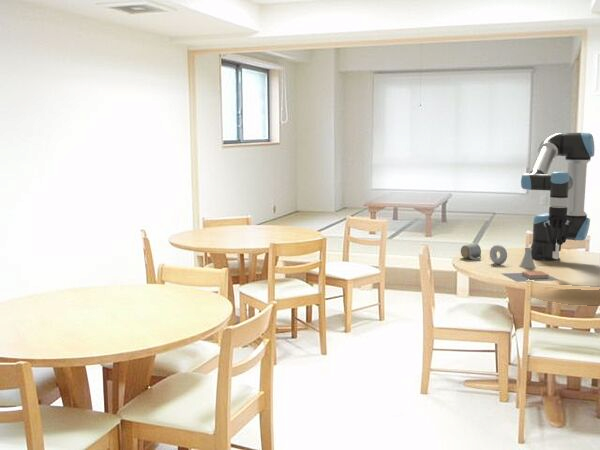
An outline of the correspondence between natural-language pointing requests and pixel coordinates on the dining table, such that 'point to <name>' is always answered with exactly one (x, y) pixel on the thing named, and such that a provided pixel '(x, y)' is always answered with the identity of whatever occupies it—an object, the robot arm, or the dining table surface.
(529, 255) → the flask
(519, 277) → the mat
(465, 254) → the ceramic mug
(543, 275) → the tile
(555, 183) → the robot arm
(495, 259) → the donut
